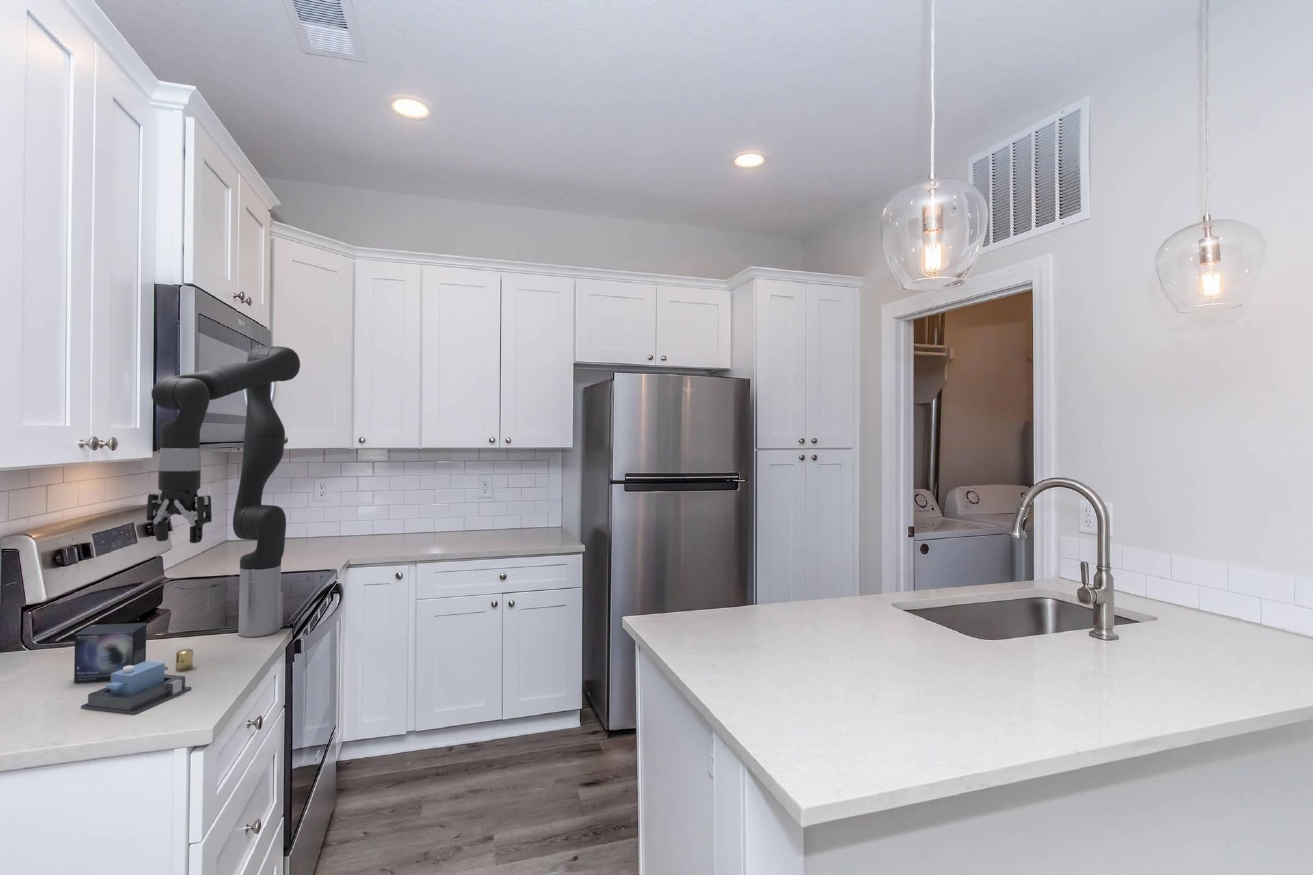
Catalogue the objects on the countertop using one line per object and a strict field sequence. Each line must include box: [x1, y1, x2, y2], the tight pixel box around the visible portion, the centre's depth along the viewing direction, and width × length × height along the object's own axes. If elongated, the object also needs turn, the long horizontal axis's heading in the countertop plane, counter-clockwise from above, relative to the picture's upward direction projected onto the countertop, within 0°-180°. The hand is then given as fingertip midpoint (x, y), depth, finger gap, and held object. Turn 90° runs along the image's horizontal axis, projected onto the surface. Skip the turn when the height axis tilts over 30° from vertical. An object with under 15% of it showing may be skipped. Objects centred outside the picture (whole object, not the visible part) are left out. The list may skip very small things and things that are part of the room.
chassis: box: [80, 673, 192, 716], centre depth 127 cm, size 12×12×3 cm
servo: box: [105, 660, 169, 695], centre depth 127 cm, size 10×4×6 cm, turn 170°
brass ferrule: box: [175, 648, 194, 673], centre depth 143 cm, size 3×3×4 cm
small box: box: [73, 622, 148, 684], centre depth 137 cm, size 11×6×10 cm, turn 105°
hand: (178, 541), depth 143 cm, fingers open, 8 cm apart
